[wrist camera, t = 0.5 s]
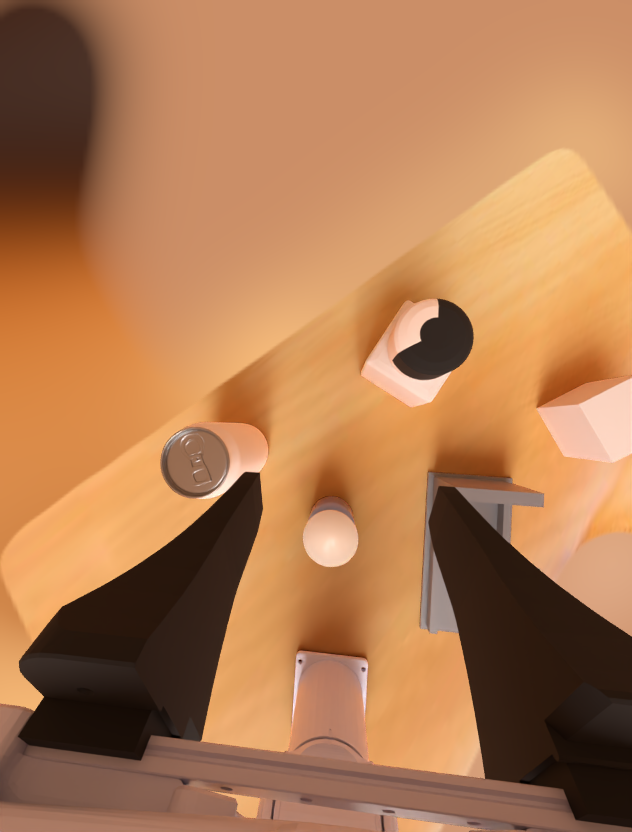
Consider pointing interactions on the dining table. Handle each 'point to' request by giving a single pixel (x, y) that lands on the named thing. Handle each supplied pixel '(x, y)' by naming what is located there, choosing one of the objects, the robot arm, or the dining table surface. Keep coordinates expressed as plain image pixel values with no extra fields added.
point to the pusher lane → (495, 508)
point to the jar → (331, 532)
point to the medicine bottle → (420, 350)
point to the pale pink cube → (593, 420)
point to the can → (211, 457)
